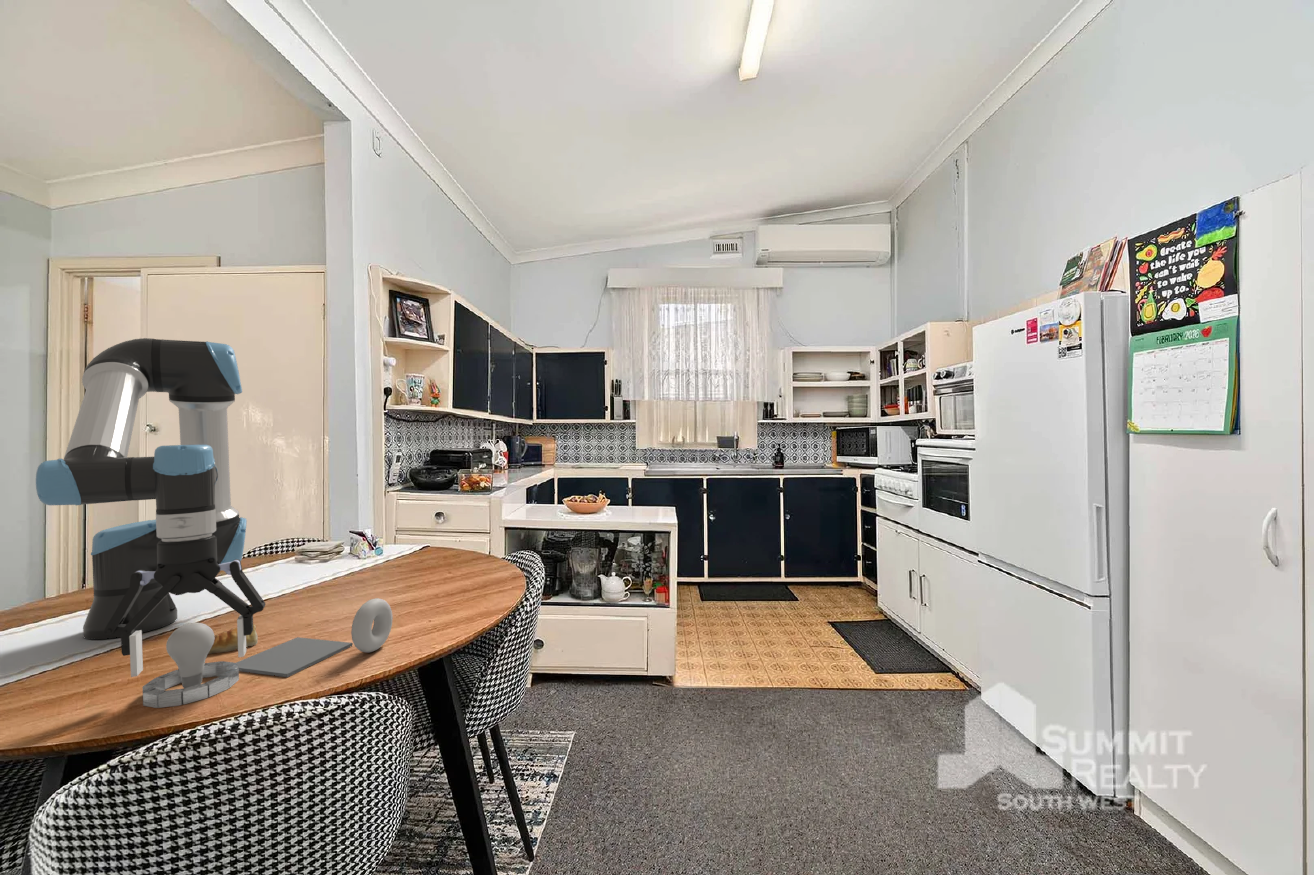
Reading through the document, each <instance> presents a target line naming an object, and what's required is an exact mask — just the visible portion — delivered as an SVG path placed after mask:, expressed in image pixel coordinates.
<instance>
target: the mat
mask: <svg viewBox="0 0 1314 875" xmlns="http://www.w3.org/2000/svg"><path fill="white" fill-rule="evenodd" d="M352 645H353V646H354V643H353V642H347V641H339V640H337V641H336V640H331V639H330V640H329V639H319V638H308V637H299V636H297V637H294V638H292V639H290V640H287V641H285V642H283V643H280V644H277V645H275V646H273V647H270V648H268V649H266V650H263V651H261V652H258V653H256V654H253V655H251V656H248V657H246V658H244V659H242V660H239V661H237V662H235V663H236V664H237V666H238V668H239V672H241V673H242V672H243V673H249V672H250V673H251V674H258V675H266V676H267V675H268V676H274V675H275V677H281V678H289V677H291V676H293V675H295V674H297V673H299V672H302V671H303V669H304V670H306V669H307V667H308V668H310V667H312V666H314V665H316V664H318V663H320V662H323V661H324V660H326V659H329V658H330V657H332V656H335V655H336V653H337V654H339V653H341V652H343V651H345V650H346V649H349V648H351V647H353V646H352ZM350 646H351V647H350ZM344 649H345V650H344ZM342 650H343V651H342ZM334 654H335V655H334ZM309 666H310V667H309ZM305 668H306V669H305ZM301 670H302V671H301Z"/></svg>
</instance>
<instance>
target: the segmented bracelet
mask: <svg viewBox="0 0 1314 875" xmlns="http://www.w3.org/2000/svg"><path fill="white" fill-rule="evenodd" d="M211 677H212V679H211V680H208V681H206V682H202V683H201V684H199V685H195V686H192V687H188V688H183V687H182V688H176V689H170V688H172V687H174V686H177V685H179V684H182V677H181V676H180V674H179V669H178V668H177V669H174V670H172V671H170V672H167V673H164V674H161V675H159V676H156V677H154V678H153V679H152V680H150V681H148V682H147V683H145V684H144V685H142V706H143V707H149V708H155V709H160V708H161V709H162V708H168V707H177V706H182V705H187V704H190V703H194V702H197V701H201V700H205V699H208V698H211V697H213V696H215V695H217V694H220V693H222V692H224V691H226V690H228V689H230V688H231V687H232V686H234V685H235V684H236V683H237V682H238V681H239V679H240V671H239V668H238V666H237V664H236V662H233V661H232V662H231V661H222V660H221V661H212V662H205V664H204V671H203V672H202V679H204V678H211ZM213 677H215V678H213ZM167 689H168V690H167Z"/></svg>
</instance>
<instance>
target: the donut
mask: <svg viewBox="0 0 1314 875" xmlns="http://www.w3.org/2000/svg"><path fill="white" fill-rule="evenodd" d="M392 627H393V611H392V608H391V605H390V604H389V603H388V601H387V600H385V599H382V598H378V597H376V598H372V599H368V600H366V602H364V603H363V604H362V605H361V606H360V607H359V609H358V610H357V612H356V613H355V615H354V617H353V622H352V624H351V632H350V634H351V640H352V643H353V646H354V647H355V648H356V649H357V650H359V651H360V652H362V653H367V654H368V653H372V652H374V651H375V652H376V651H378V650H379V649H380V648H381V647H382V646H383V645H384V644H385V642H387V640H388V638H389V636H390V633H391V630H392Z"/></svg>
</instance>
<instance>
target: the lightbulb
mask: <svg viewBox="0 0 1314 875" xmlns="http://www.w3.org/2000/svg"><path fill="white" fill-rule="evenodd" d="M214 639H215V632H214V630H213V629H212V628H211V627H210V626H209V625H207V624H206V623H203V622H190V623H186V624H183V625H181V626H179V627H177V628H176V629H175V630H174V631H172V633H171V634H170V636H169V637H168V638H167V640H166V644H165V646H166V652H167V654H168V655H169V657H170V659H172V660H173V661H174V662H175V665H176V666H177V667H178V668H177V670H178V669H179V674H180V676H181V677H182V683H181V685H182V689H183V688H188V687H192V686H195V685H199V684H203V678H202V672H203V671H204V664H205V663H206V659H207V657H208V655H209V654H208V653H209V651H210V649H211V647H212V645H213V643H214Z"/></svg>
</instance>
